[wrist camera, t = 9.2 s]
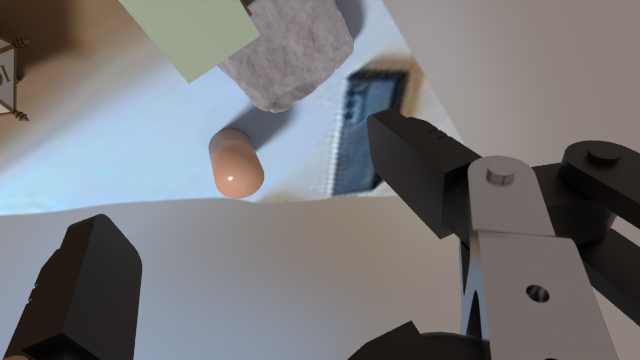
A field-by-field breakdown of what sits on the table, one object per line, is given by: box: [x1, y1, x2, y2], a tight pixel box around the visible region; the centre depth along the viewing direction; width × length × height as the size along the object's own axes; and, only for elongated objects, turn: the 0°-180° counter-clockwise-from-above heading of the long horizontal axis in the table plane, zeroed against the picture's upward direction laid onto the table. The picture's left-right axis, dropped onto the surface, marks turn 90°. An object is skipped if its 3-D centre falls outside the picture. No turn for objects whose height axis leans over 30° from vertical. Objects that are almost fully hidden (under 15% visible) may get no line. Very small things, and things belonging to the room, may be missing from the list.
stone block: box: [217, 0, 354, 113], centre depth 29 cm, size 12×5×10 cm
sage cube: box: [119, 0, 260, 83], centre depth 19 cm, size 5×5×5 cm
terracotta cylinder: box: [209, 129, 264, 198], centre depth 31 cm, size 4×4×6 cm
